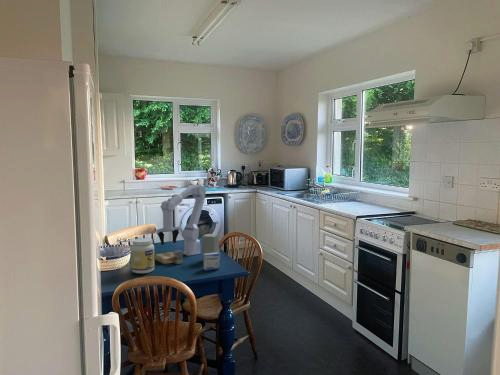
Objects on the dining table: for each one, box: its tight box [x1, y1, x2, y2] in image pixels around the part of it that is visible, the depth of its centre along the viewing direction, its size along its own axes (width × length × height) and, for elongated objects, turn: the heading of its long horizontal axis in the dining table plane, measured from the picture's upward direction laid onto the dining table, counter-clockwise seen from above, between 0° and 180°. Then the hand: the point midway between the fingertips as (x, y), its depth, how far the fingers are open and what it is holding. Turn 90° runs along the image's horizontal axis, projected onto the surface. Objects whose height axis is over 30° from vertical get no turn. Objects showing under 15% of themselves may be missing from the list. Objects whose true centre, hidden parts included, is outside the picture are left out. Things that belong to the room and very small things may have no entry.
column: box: [173, 249, 184, 265], centre depth 220 cm, size 4×4×7 cm
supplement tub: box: [130, 237, 156, 274], centre depth 205 cm, size 12×12×17 cm
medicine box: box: [202, 252, 220, 271], centre depth 209 cm, size 8×4×9 cm, turn 114°
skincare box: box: [201, 233, 221, 262], centre depth 223 cm, size 8×7×16 cm
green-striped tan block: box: [154, 251, 174, 265], centre depth 226 cm, size 12×12×3 cm
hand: (168, 243), depth 225 cm, fingers open, 7 cm apart
